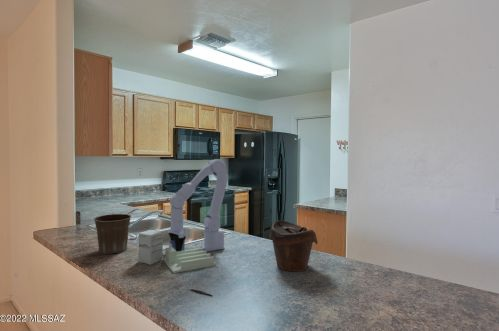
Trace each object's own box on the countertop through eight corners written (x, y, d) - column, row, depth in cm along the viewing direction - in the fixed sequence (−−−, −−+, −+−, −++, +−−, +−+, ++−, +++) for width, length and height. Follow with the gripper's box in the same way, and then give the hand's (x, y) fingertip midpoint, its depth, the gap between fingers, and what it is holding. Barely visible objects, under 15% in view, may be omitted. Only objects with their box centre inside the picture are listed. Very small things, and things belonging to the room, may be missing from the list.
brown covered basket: (318, 276, 110) (318, 229, 110) (266, 272, 114) (266, 227, 114) (316, 261, 128) (317, 220, 128) (271, 258, 132) (272, 218, 132)
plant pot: (121, 256, 131) (121, 221, 130) (86, 255, 131) (86, 220, 130) (136, 245, 147) (136, 214, 146) (105, 245, 147) (105, 213, 147)
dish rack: (202, 254, 135) (202, 236, 135) (216, 265, 121) (216, 245, 121) (163, 260, 126) (163, 241, 126) (173, 273, 112) (173, 251, 112)
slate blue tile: (183, 251, 139) (183, 238, 139) (184, 252, 138) (184, 239, 138) (168, 253, 136) (169, 240, 135) (169, 254, 134) (169, 241, 134)
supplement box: (137, 262, 124) (137, 232, 124) (151, 257, 130) (151, 229, 130) (150, 265, 120) (150, 235, 120) (163, 259, 127) (163, 231, 127)
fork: (210, 299, 93) (210, 293, 93) (173, 288, 100) (173, 282, 100) (214, 295, 95) (215, 289, 95) (178, 285, 103) (178, 279, 103)
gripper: (164, 218, 141) (164, 246, 141) (172, 224, 128) (172, 255, 128) (178, 217, 144) (178, 244, 144) (188, 223, 131) (187, 252, 132)
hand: (176, 249), depth 137 cm, fingers open, 6 cm apart
